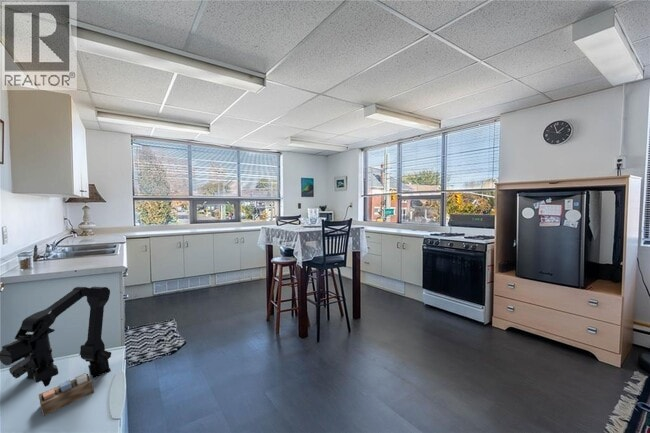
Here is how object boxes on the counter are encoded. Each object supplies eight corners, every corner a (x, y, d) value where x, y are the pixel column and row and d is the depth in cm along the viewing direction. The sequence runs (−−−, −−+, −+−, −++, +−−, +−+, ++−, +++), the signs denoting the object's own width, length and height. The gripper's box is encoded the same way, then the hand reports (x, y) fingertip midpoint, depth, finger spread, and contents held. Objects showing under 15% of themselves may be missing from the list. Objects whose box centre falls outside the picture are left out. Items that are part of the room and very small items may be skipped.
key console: (89, 384, 127) (87, 373, 126) (93, 392, 122) (92, 381, 121) (40, 405, 115) (38, 394, 114) (43, 416, 110) (41, 404, 109)
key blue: (71, 387, 120) (69, 379, 120) (72, 391, 118) (71, 382, 118) (60, 392, 118) (59, 383, 117) (62, 396, 116) (60, 387, 115)
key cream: (86, 381, 124) (85, 372, 123) (88, 384, 122) (86, 376, 121) (76, 385, 122) (75, 377, 121) (78, 388, 119) (77, 380, 119)
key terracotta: (55, 397, 117) (53, 388, 116) (56, 401, 114) (55, 392, 114) (44, 402, 114) (42, 393, 114) (45, 406, 112) (43, 397, 112)
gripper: (7, 349, 111) (14, 386, 113) (11, 369, 99) (19, 410, 101) (47, 336, 119) (53, 371, 121) (55, 353, 107) (62, 392, 109)
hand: (46, 385), depth 113 cm, fingers closed
